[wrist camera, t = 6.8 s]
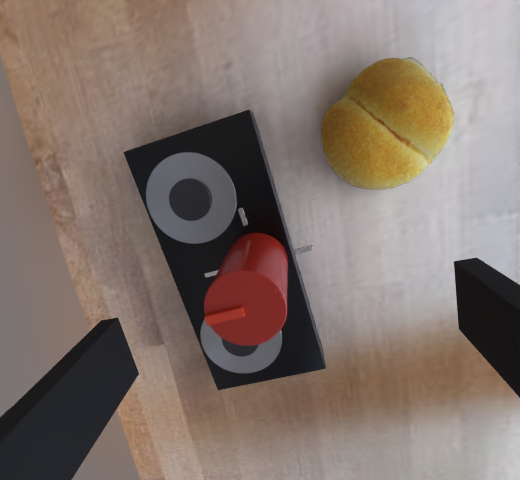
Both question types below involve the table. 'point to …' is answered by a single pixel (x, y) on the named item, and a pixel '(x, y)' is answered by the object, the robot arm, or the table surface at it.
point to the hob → (234, 238)
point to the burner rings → (203, 237)
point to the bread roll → (387, 125)
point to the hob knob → (249, 291)
